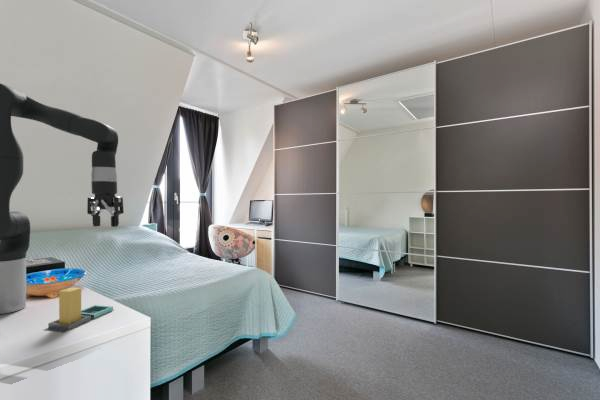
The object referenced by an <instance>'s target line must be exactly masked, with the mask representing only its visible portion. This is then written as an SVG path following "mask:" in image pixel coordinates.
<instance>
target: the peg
mask: <svg viewBox="0 0 600 400" xmlns="http://www.w3.org/2000/svg"><path fill="white" fill-rule="evenodd" d="M58 292H59V294H58V295H59V297H58V300H59V301H58V305H59V308H58V310H59V311H58V312H59V313H58V314H59V316H58V317H59V318H58V319H59V323H61V324H71V323H73V322H76V321H78V320H80V319H81V310H82V288H81V287H74V286H73V287H68V288H65V289H61V290H59V291H58Z"/></svg>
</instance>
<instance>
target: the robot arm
mask: <svg viewBox="0 0 600 400" xmlns="http://www.w3.org/2000/svg"><path fill="white" fill-rule="evenodd" d="M12 117H16V118H20V119H21V118H22V119H26V120H31V121H36V122H38V123H43V124H45V125H48V126H50V127H52V128H54V129H57V130H60V131H63V132H65V133H68V134H71V135H74V136H78V137H81V138H84V139H86V140H89V141H91V142H95V143H97V145H96V146H97V147H96V150H95V151H93V152H92V154H91V172H90V173H91V174H90V176H91V178H90V179H91V180H90V181H91V193H92V194H93V195H94V197H89V196H88V197H87V205H86V206H87V210H86V211H87V212H86V213H87V215H91V216H92V226H93V227H100V226H101V213H102V212H103V211H104V210H106V211H107V212H108V213H109V214H110V215H111V216H110V226H111V228H114V227H115V228H116V227H118V226H119V223H120V222H119V221H120V220H119V216H120V215H122V214H124V213H125V212H124V200H123V196H116V194H118V176H117V169H116V167H117V166H116V154H117V152H118V145H119V134H118V132H117V131H116V129H115V128H114V127H112V126H110V125H108V124H105V123H104V122H101V121H97V120H95V119H91V118H88V117H84V116H82V115H80V114H77V113H74V112H71V111H68V110H65V109H61V108H57V107H53V106H49V105H46V104H43V103H41V102H39V101H36V100H35V99H33V98H31V97H29V96H27V95H26V94H24V93H22V92H21V91H20V90H17V89H15V88H13V87H11V86H8V85H6V84H3V83H0V315H3V314H5V315H6V314H8V313H13V312H17V311H21V310H22V309H25V308H26V306H27V252H28V251H29V248H30V238H31V221H30V219H29V217H28V216H27V215H26V214H25V213H23V212H21V211H10V203H11V198H12V195H13V192H14V190H16V187H17V186H18V185H19V183H20V182H21V180H22V178H23V177H22V176H23V175H24V153H23V149H22V147H21V146H20V144H19V142H18V140H17V138H16V135H15V134H14V132H13V128H12Z"/></svg>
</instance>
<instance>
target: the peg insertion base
mask: <svg viewBox="0 0 600 400" xmlns="http://www.w3.org/2000/svg"><path fill="white" fill-rule="evenodd" d="M113 311H114V306H110V305H108V306H107V305H99V304H95V305H92V306H89V307H86V308H84V309H81V319H80V320H78V321H76V322H73V323H71V324H61V323H59V318H58V319H55V320H53V321H51V322H48V323H47V324H48V325H47V327H46V328H44V329H43V331H47V332H54V333H61V334H63V333H66V332H68V331H70V330H73V329H74V328H77V327H79V326H82V325H83V324H86V323H89V322H91V321H92V320H95V319H97V318H100V317H102V316H104V315H106V314H109V313H110V312H113Z"/></svg>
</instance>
